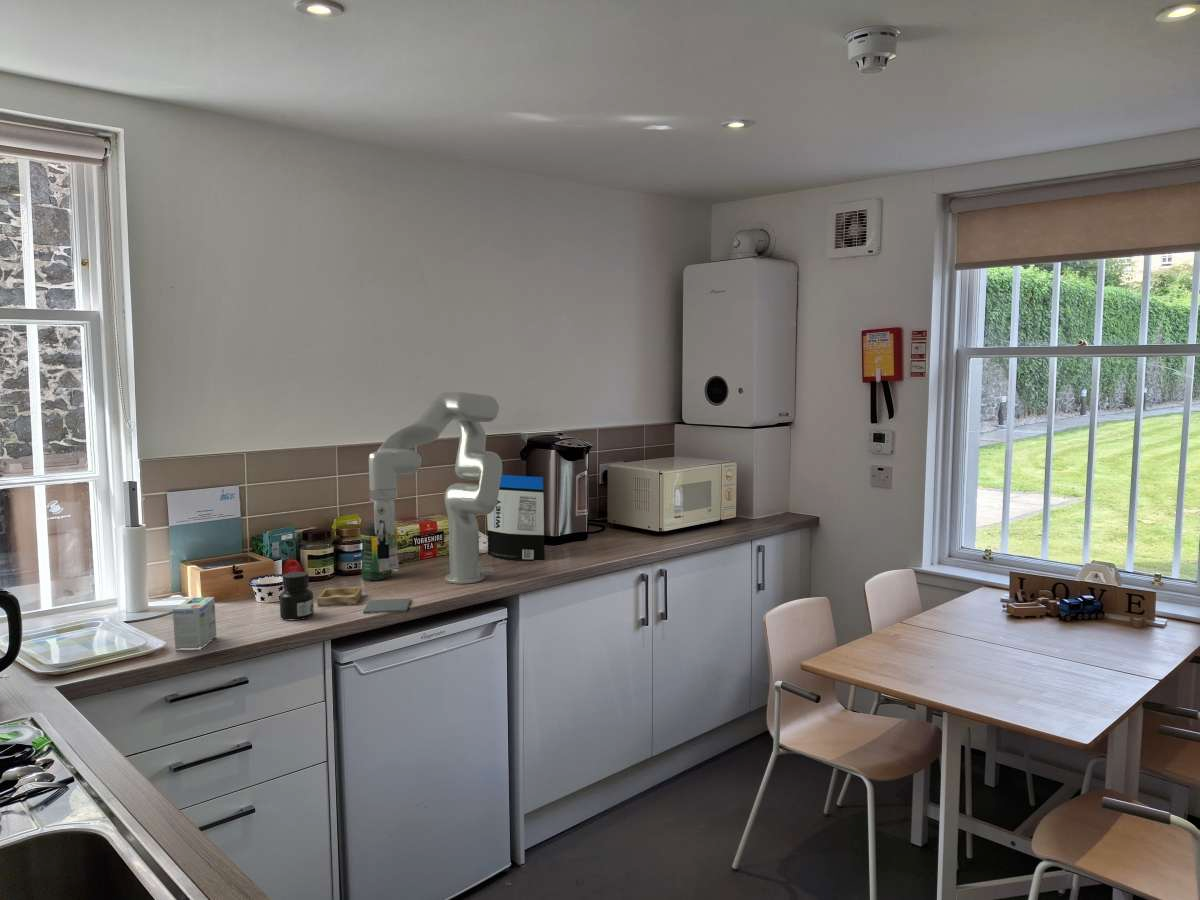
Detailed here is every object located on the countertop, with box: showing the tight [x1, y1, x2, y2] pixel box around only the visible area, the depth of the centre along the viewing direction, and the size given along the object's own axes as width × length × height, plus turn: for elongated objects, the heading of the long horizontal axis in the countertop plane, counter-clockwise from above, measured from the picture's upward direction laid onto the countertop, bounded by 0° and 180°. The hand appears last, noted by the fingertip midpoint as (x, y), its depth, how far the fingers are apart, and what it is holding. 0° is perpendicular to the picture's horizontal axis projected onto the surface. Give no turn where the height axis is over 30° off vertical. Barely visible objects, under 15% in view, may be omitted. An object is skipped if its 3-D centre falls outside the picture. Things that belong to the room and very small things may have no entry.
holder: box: [316, 586, 363, 607], centre depth 257 cm, size 11×11×2 cm
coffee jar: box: [360, 522, 393, 582], centre depth 283 cm, size 10×8×19 cm
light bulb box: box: [172, 596, 217, 650], centre depth 218 cm, size 11×7×11 cm, turn 5°
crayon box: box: [372, 528, 399, 573], centre depth 248 cm, size 7×3×12 cm, turn 145°
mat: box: [362, 598, 412, 614], centre depth 250 cm, size 12×12×1 cm
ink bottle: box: [279, 571, 315, 620], centre depth 240 cm, size 10×9×12 cm
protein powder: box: [486, 474, 546, 562], centre depth 311 cm, size 10×24×30 cm, turn 63°
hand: (385, 555), depth 248 cm, fingers closed on crayon box, 7 cm apart
